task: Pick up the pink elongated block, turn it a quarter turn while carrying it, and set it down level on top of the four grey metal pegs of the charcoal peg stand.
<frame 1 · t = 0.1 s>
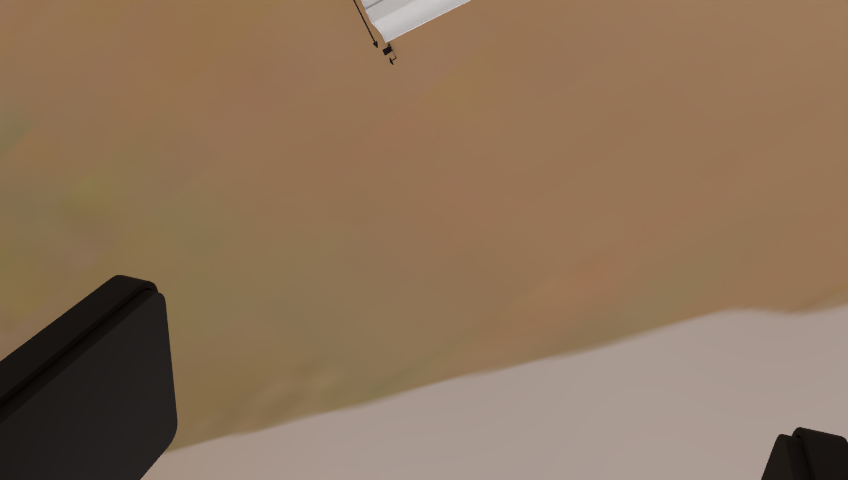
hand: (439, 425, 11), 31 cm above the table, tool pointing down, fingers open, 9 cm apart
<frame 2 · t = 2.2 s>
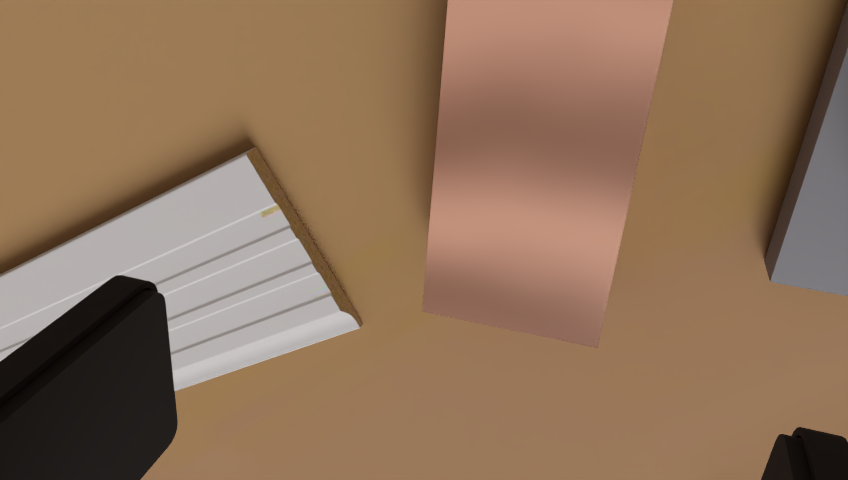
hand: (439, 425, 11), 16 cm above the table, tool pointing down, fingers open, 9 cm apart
pink elongated block: (552, 95, 26), on the table
baseboard: (86, 342, 38), on the table
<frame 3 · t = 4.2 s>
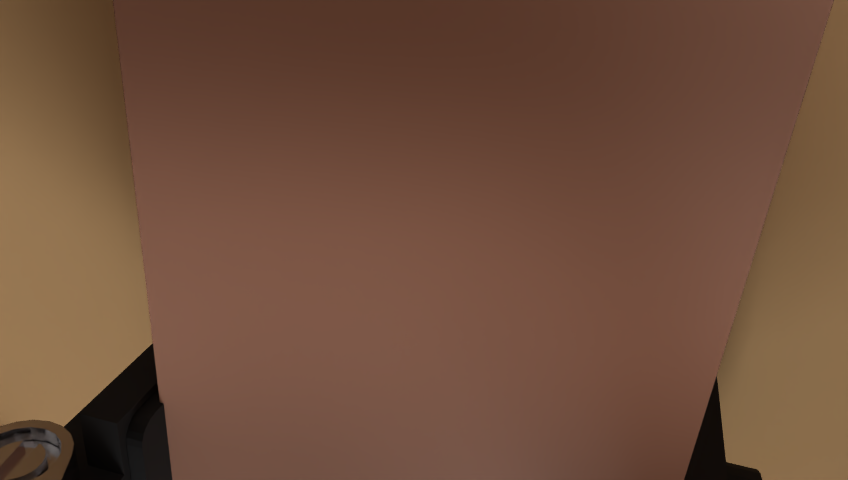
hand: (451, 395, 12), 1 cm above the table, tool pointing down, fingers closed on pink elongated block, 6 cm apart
pink elongated block: (463, 359, 13), on the table, touching gripper
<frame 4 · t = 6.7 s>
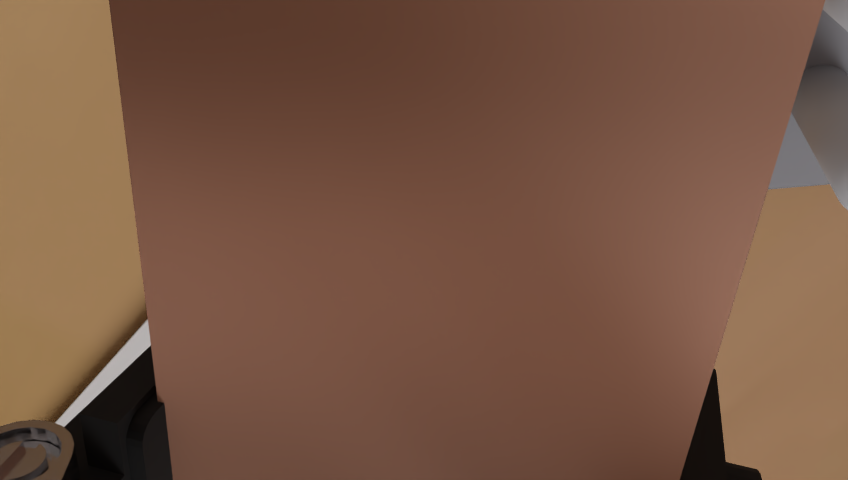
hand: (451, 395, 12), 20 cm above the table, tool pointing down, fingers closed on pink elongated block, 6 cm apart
pink elongated block: (461, 361, 13), point 19 cm above the table, touching gripper
baseboard: (193, 402, 43), on the table
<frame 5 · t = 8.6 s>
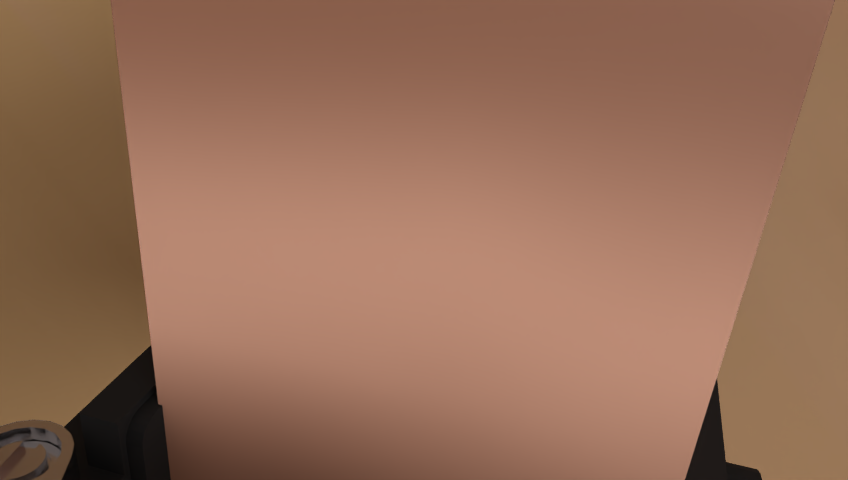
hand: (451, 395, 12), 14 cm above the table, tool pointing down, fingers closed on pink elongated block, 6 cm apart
pink elongated block: (462, 363, 13), point 13 cm above the table, touching gripper
when the fingers open (10 cm above the table, at t = 9.7 s): pink elongated block stays where it is, resting on peg stand.
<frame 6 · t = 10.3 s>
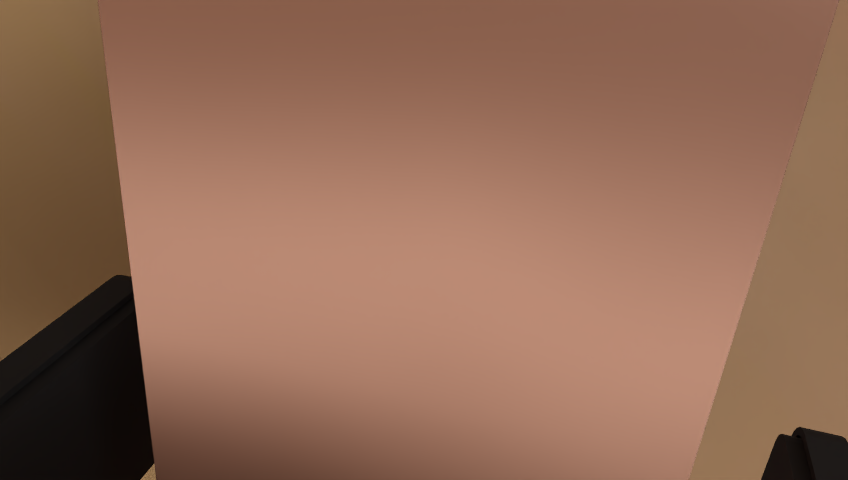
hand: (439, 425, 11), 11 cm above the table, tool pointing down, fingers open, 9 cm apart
pink elongated block: (459, 371, 12), point 9 cm above the table, touching peg stand
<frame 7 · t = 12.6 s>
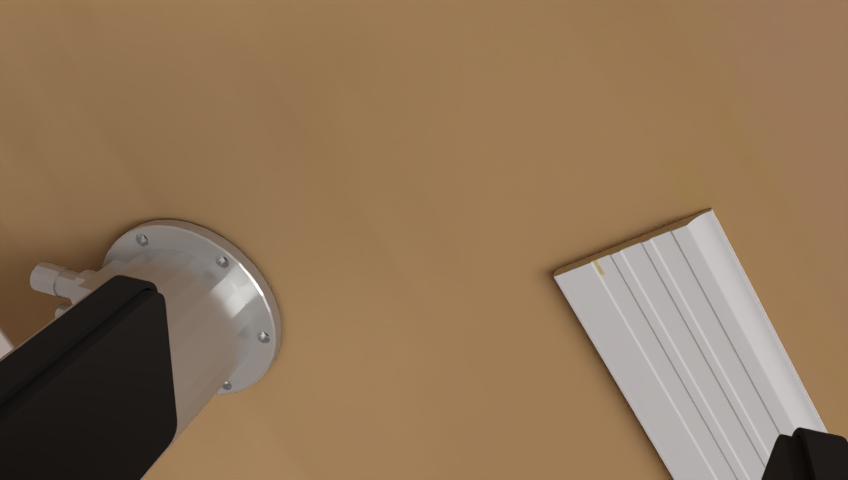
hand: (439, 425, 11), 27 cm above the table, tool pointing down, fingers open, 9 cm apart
baseboard: (764, 450, 42), on the table
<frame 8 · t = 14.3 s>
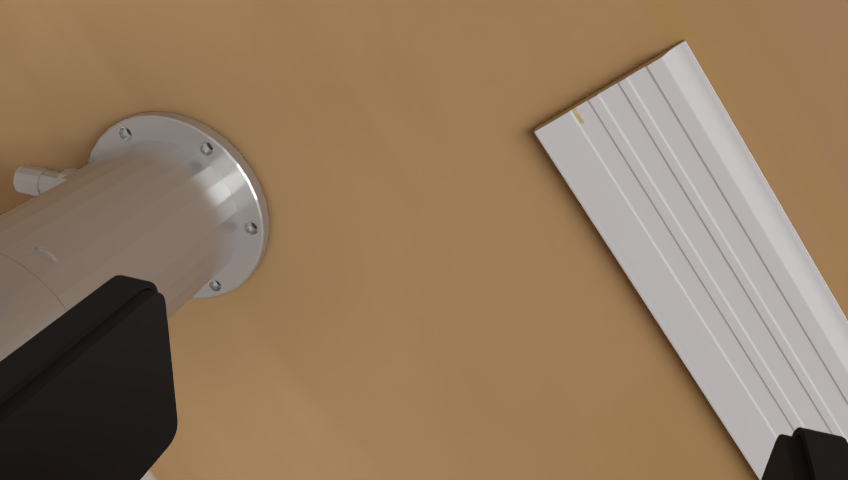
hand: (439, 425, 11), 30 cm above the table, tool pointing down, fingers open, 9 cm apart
baseboard: (759, 303, 42), on the table
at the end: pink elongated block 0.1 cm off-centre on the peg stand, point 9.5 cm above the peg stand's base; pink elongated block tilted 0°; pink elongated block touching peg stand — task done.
